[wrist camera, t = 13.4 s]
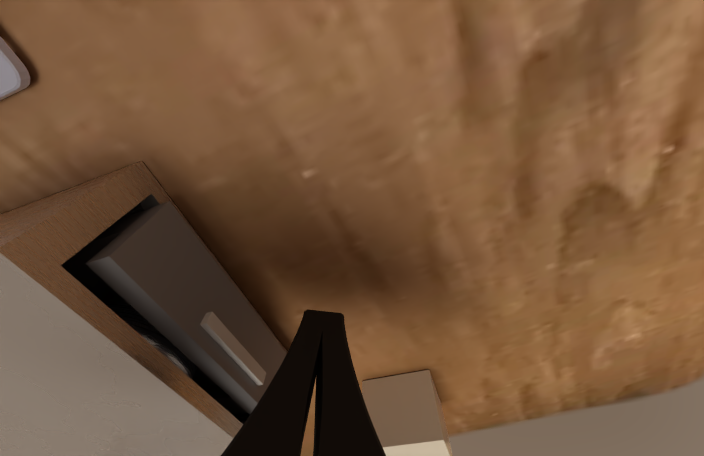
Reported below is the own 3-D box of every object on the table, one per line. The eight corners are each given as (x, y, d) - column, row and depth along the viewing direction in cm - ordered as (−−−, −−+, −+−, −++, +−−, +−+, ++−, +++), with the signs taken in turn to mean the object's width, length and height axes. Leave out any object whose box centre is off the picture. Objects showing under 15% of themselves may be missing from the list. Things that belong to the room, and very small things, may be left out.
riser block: (362, 381, 18) (363, 449, 15) (429, 369, 17) (443, 439, 14) (380, 412, 20) (384, 478, 17) (441, 403, 19) (455, 471, 16)
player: (-87, 247, 13) (-304, 354, 9) (141, 161, 10) (-4, 249, 6) (141, 405, 20) (84, 505, 16) (306, 376, 18) (289, 483, 13)
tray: (-53, 276, 12) (-155, 338, 10) (175, 199, 10) (116, 253, 8) (136, 405, 18) (101, 464, 16) (307, 374, 16) (298, 437, 14)
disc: (47, 318, 13) (11, 352, 12) (148, 290, 12) (122, 324, 10) (135, 383, 16) (114, 416, 14) (224, 366, 15) (210, 400, 13)
